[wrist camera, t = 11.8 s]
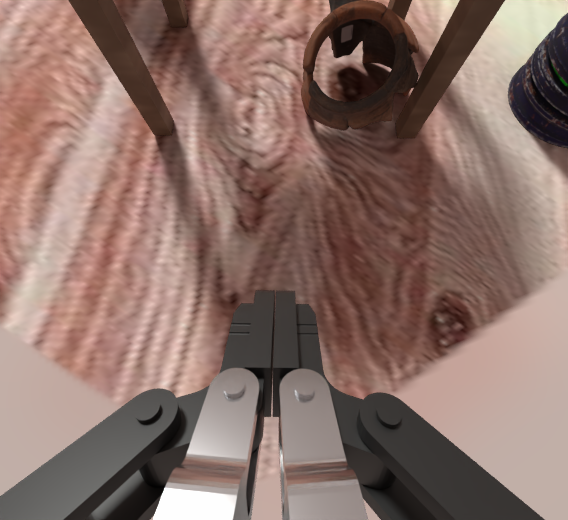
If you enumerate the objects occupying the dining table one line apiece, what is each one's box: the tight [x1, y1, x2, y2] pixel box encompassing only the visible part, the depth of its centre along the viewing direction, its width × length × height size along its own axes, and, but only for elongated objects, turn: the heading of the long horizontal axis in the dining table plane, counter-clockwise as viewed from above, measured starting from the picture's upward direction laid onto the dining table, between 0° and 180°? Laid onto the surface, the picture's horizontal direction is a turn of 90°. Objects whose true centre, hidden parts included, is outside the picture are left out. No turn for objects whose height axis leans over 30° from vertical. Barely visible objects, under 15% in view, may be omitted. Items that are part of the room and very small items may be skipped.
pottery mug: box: [301, 0, 419, 130], centre depth 24 cm, size 12×10×8 cm
